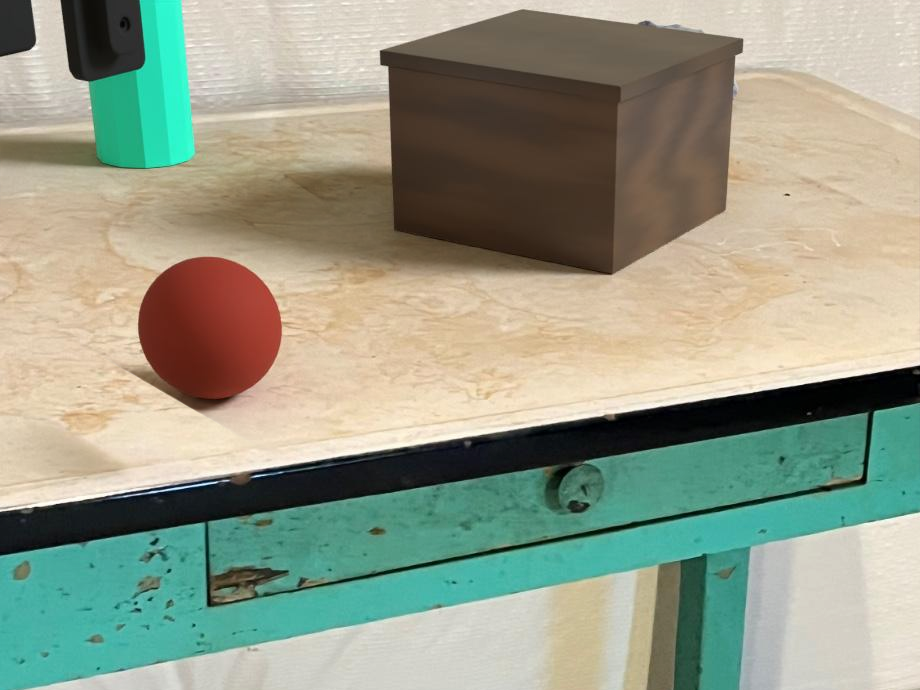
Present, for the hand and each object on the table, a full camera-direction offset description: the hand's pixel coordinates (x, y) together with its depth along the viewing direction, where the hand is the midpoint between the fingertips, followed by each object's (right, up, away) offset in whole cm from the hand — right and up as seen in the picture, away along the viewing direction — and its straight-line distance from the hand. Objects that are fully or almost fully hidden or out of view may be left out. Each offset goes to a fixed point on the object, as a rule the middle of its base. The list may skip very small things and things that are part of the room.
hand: (52, 58), depth 61 cm
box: (+18, +2, +37) cm, 41 cm away
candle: (-9, +8, +46) cm, 48 cm away
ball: (+3, -8, +11) cm, 14 cm away
